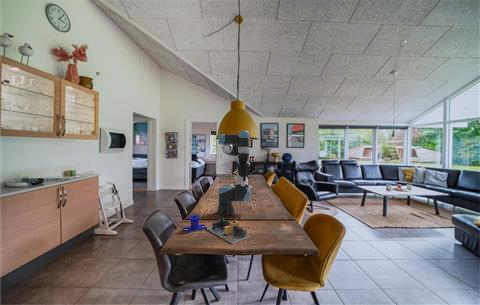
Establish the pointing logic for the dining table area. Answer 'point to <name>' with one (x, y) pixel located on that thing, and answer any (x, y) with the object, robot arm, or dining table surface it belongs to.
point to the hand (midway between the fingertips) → (243, 185)
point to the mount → (194, 224)
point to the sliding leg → (230, 227)
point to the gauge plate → (232, 238)
